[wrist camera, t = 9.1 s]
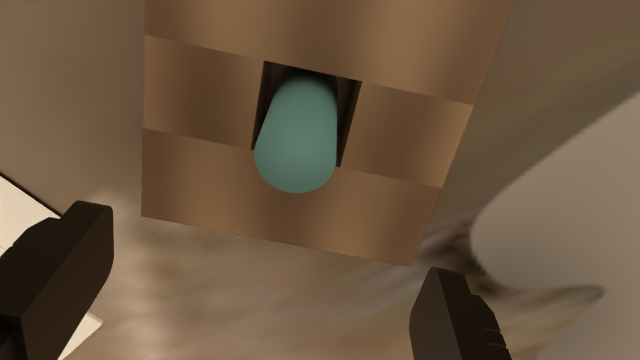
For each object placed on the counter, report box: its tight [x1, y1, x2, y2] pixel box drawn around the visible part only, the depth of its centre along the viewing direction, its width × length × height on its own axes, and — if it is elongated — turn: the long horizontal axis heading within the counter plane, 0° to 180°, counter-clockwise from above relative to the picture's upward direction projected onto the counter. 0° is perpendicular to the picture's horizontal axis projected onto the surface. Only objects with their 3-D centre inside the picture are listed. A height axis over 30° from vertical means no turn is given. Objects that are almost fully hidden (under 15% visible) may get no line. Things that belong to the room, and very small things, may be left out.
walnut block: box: [141, 0, 516, 267], centre depth 22 cm, size 14×14×4 cm
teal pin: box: [254, 66, 338, 193], centre depth 20 cm, size 3×3×8 cm
